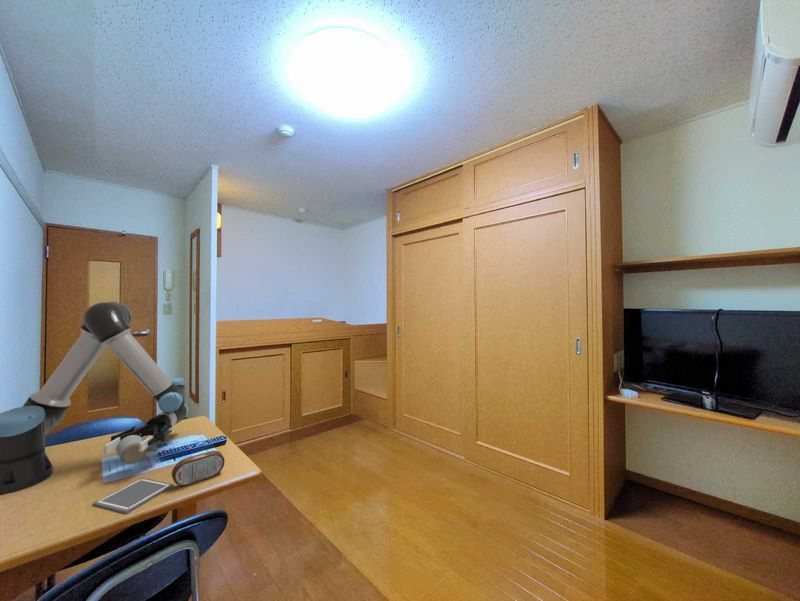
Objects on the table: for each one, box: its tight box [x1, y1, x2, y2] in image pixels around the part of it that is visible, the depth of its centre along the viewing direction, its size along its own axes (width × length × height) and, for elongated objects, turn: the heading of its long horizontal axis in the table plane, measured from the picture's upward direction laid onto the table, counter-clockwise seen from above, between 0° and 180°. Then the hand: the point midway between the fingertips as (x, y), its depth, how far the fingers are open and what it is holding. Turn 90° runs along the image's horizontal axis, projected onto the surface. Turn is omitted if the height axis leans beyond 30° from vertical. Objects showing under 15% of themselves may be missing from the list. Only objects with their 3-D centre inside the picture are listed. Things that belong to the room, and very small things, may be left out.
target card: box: [91, 477, 175, 515], centre depth 100 cm, size 14×14×1 cm
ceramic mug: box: [115, 435, 158, 465], centre depth 114 cm, size 11×8×8 cm
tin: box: [171, 450, 226, 487], centre depth 108 cm, size 15×3×8 cm, turn 133°
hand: (123, 448), depth 108 cm, fingers closed on ceramic mug, 10 cm apart
